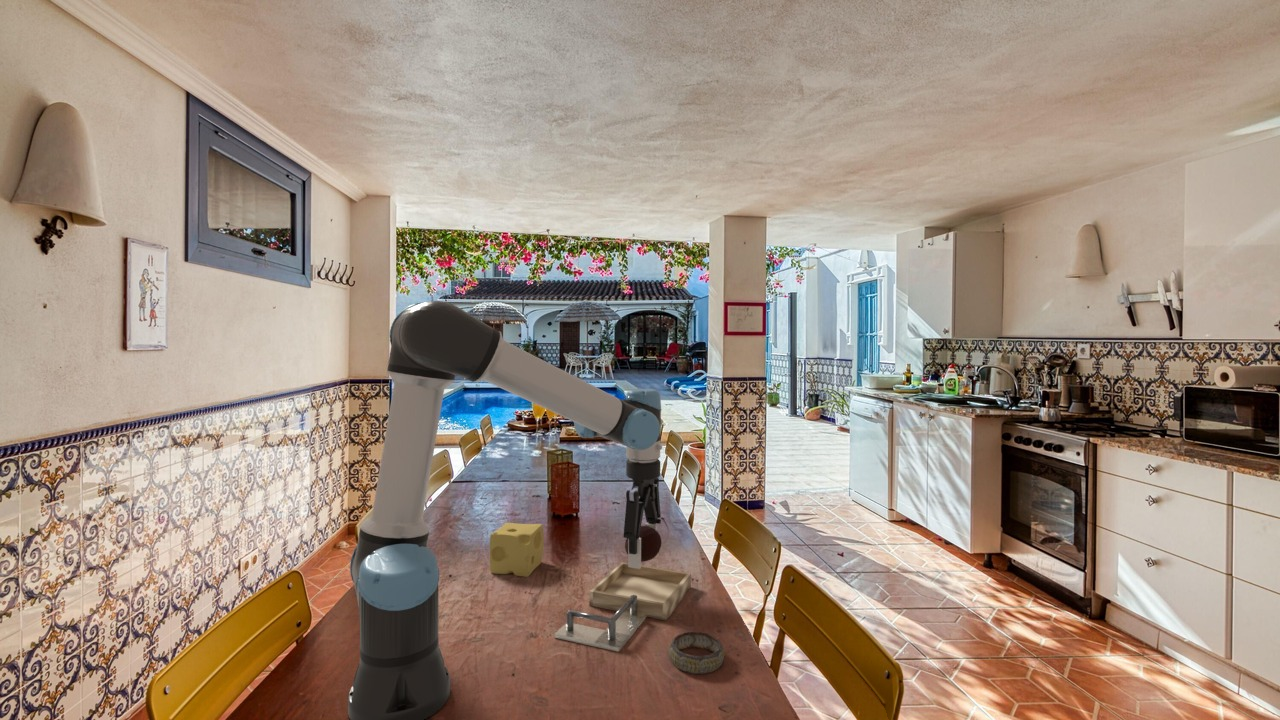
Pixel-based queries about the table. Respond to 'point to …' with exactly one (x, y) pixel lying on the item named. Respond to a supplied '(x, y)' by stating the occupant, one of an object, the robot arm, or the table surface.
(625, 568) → the tray
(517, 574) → the cheese
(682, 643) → the decorative ring
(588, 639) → the corner grab bar
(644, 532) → the dark brown ball
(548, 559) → the table surface
